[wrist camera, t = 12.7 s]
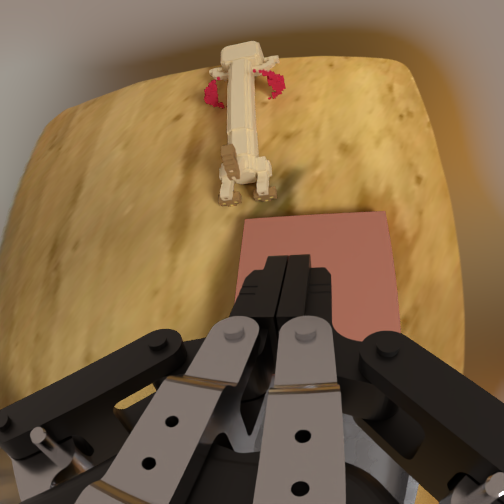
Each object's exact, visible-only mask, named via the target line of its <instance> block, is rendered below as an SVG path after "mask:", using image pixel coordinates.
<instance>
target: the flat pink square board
mask: <svg viewBox="0 0 504 504" xmlns="http://www.w3.org/2000/svg"><path fill="white" fill-rule="evenodd" d="M300 254H310V256H311V268H315V267H325V268H326V269H327V270H328V271H329V272H330V274H331V283H332V324H333V327H334V328H335V330H336V331H337V332H338V333H339V334H340V335H342V336H344V337H346V338H348V339H352V340H356V341H361V342H362V341H363V340H364V339H365V338H366V337H367V336H368V335H370V334H372V333H375V332H378V331H395V332H399V333H401V329H400V316H399V304H398V294H397V285H396V277H395V269H394V262H393V255H392V248H391V242H390V235H389V230H388V224H387V218H386V213H385V211H378V212H355V213H335V214H316V215H299V216H284V217H269V218H255V219H245V223H244V231H243V238H242V246H241V254H240V262H239V270H238V278H237V286H236V295H235V301H236V299H237V297H238V295H239V292H240V289H241V288H242V285H243V282H244V280H245V278H246V277H247V276H248V275H249V274H250V273H251V272H252V271H253V270H263V269H264V266H265V263H266V260H267V257H268V256H278V255H289V256H290V255H300ZM234 304H235V303H234ZM274 381H275V374H272V379H271V384H270V388H273V387H274Z"/></svg>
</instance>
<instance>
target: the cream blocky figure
mask: <svg viewBox="0 0 504 504" xmlns="http://www.w3.org/2000/svg"><path fill="white" fill-rule="evenodd" d="M264 61H265V62H264ZM276 63H279V58H278V56H270V57H266V58H264V57H263V53H262V50H261V48H260V45H259V43H257V42H254V41H249V42H245V43H240V44H236V45H231V46H228V47H225V48H224V49H223V50H222V51H221V65H222V67H219V68H214V69H211V70H210V71H209V73H210V75H211V77H213V78H214V79H216V80H223V79H224V81H227V79H228V88H227V134H228V144H227V145H222V146H221V156H222V161H223V163H222V164H221V168H219V178H220V180H221V181H222V185H221V189H220V194H219V196H218V203H219V204H220V205H221V206H226V205H227V206H236V205H237V204H240V203H241V194H240V193H239V192H233V191H234V183H235V181H236V183H237V184H239V183H240V184H248V183H255V181H257V189H254V199H255V200H256V201H263V202H265V201H272V199H277V190H276V188H275V186H274V187H269V178H270V176H272V169H271V164H270V161H269V160H266V157H265V156H263V157H259V156H258V138H257V130H256V112H255V85H254V81H255V76H260V75H263V76H267V81H268V84H269V86H272V88H273V90H276V92H272V96H273V99H274V98H276V96H277V95H279V94H282V92H281V91H283V89H286V88H285V83H284V77H283V75H282V76H280V74H275V73H274V72H271V70H270V68H273V66H275V64H276ZM268 69H269V70H268ZM224 71H225V73H224ZM216 80H212V81H211V83H209V85H208V87H206V89H204V92H205V96H204V100H205V102H206V104H210V105H213V107H217V106H218V107H219V108H220V107H222V108H224V105H223V103H222V102H220V103H218V94H217V85H216V84H215V83H216ZM269 99H271V97H270V98H268V100H269Z"/></svg>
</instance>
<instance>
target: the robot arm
mask: <svg viewBox="0 0 504 504" xmlns="http://www.w3.org/2000/svg"><path fill="white" fill-rule="evenodd" d="M272 374H275V381H274V387H273V388H270V384H271V379H272ZM151 383H153V385H154V387H155V389H156V392H154V393H153V394H151V395H149V396H148V397H146V398H144V399H142V400H140V401H139V402H137V403H135V404H133V405H132V406H130V407H128V408H126V409H117V408H115V407H114V406H115V405H116V404H117V403H118V402H119V401H121V400H123V399H125V398H126V397H128V396H130V395H132V394H134V393H135V392H137V391H139V390H141V389H143V388H144V387H146V386H148V385H150V384H151ZM265 410H266V414H265V422H264V430H263V437H262V445H261V451H258V452H254V445H255V440H256V437H257V434H258V431H259V428H260V425H261V422H262V419H263V416H264V413H265ZM342 413H343V414H347V415H350V416H352V417H353V420H354V422H355V423H356V424H357V425H358V426H359V427H360V428H361V429H362V430H363V431H364V432H365V433H366V434H367V435H368V436H369V437H370V438H371V439H372V440H373V441H374V442H375V443H376V444H377V445H378V446H379V447H380V448H381V449H382V450H384V451H385V452H386V453H387V454H388V455H389V456H390V457H391V458H392V459H393V460H394V461H395V462H396V463H397V464H398V465H399V466H400V467H401V468H403V469H404V470H405V471H406V472H407V473H408V474H409V475H410V476H411V477H412V478H413V479H414V480H415V481H417V482H418V483H419V484H420V485H421V486H422V487H423V488H424V489H425V490H426V491H428V492H429V493H430V494H431V495H432V496H433V497H434V498H435V499H437V500H438V501H439V504H504V403H502V402H501V401H500V400H498V399H497V398H495V397H494V396H492V395H491V394H490V393H488V392H487V391H485V390H484V389H483V388H481V387H480V386H478V385H477V384H475V383H474V382H473V381H471V380H470V379H468V378H467V377H465V376H464V375H462V374H461V373H459V372H458V371H457V370H455V369H454V368H452V367H451V366H449V365H448V364H446V363H445V362H443V361H442V360H440V359H439V358H438V357H436V356H435V355H433V354H432V353H430V352H429V351H427V350H426V349H424V348H423V347H421V346H420V345H418V344H417V343H415V342H414V341H413V340H411V339H410V338H408V337H407V336H405V335H403V334H401V333H399V332H395V331H378V332H375V333H372V334H370V335H368V336H367V337H366V338H365V339H364V340H363V341H362V342H361V341H356V340H352V339H348V338H346V337H344V336H342V335H340V334H339V333H338V332H337V331H336V330H335V328H334V327H333V324H332V283H331V274H330V272H329V271H328V270H327V269H326V268H325V267H315V268H311V256H310V254H300V255H290V256H289V255H278V256H268V257H267V260H266V263H265V266H264V269H263V270H253V271H252V272H251V273H250V274H249V275H248V276H247V277H246V278H245V280H244V282H243V285H242V288H241V289H240V292H239V295H238V297H237V299H236V301H235V304H234V306H233V309H232V311H231V313H230V316H229V318H225V319H223V320H221V321H219V322H218V323H216V324H215V325H214V326H213V327H212V329H211V330H210V332H209V334H208V335H207V337H206V338H202V339H196V340H191V341H185V342H183V340H182V338H181V335H180V334H179V333H178V332H177V331H175V330H172V329H160V330H156V331H153V332H151V333H149V334H147V335H145V336H143V337H141V338H139V339H137V340H135V341H134V342H132V343H130V344H128V345H126V346H124V347H122V348H120V349H119V350H117V351H115V352H113V353H111V354H109V355H107V356H105V357H103V358H101V359H100V360H98V361H96V362H94V363H92V364H90V365H88V366H86V367H84V368H82V369H80V370H78V371H76V372H75V373H73V374H71V375H69V376H67V377H65V378H63V379H61V380H59V381H57V382H55V383H53V384H51V385H49V386H47V387H45V388H43V389H41V390H39V391H37V392H35V393H33V394H31V395H29V396H27V397H25V398H23V399H21V400H19V401H17V402H15V403H13V404H11V405H9V406H7V407H5V408H3V409H1V410H0V504H400V503H399V502H398V501H397V500H396V499H395V498H394V497H393V496H392V494H391V493H390V492H389V491H388V490H387V489H386V488H385V487H384V486H383V485H382V484H381V483H380V482H379V481H378V480H377V479H376V478H375V477H373V476H372V475H371V474H370V473H368V472H366V471H365V470H363V469H361V468H359V467H357V466H355V465H353V464H350V463H347V462H345V453H344V433H343V418H342Z"/></svg>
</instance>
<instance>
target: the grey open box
mask: <svg viewBox="0 0 504 504" xmlns="http://www.w3.org/2000/svg"><path fill="white" fill-rule="evenodd" d="M265 414H266V410H265V413H264V416H263V419H262V422H261V425H260V428H259V431H258V434H257V437H256V440H255V445H254V452H258V451H261V445H262V437H263V430H264V422H265ZM342 418H343V433H344V453H345V462H347V463H350V464H353V465H355V466H357V467H359V468H361V469H363V470H365V471H366V472H368V473H370V474H371V475H372V476H373V477H375V478H376V479H377V480H378V481H379V482H380V483H381V484H382V485H383V486H384V487H385V488H386V489H387V490H388V491H389V492H390V493H391V494H392V496H393V497H394V498H395V499H396V500H397V501H398V502H399V503H400V504H414V503H415V499H416V494H417V490H418V485H419V483H418V482H417V481H415V480H414V479H413V478H412V477H411V476H410V475H409V474H408V473H407V472H406V471H405V470H404V469H403V468H401V467H400V466H399V465H398V464H397V463H396V462H395V461H394V460H393V459H392V458H391V457H390V456H389V455H388V454H387V453H386V452H385V451H384V450H382V449H381V448H380V447H379V446H378V445H377V444H376V443H375V442H374V441H373V440H372V439H371V438H370V437H369V436H368V435H367V434H366V433H365V432H364V431H363V430H362V429H361V428H360V427H359V426H358V425H357V424H356V423H355V422H354V420H353V417H352V416H350V415H347V414H343V413H342Z"/></svg>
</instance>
